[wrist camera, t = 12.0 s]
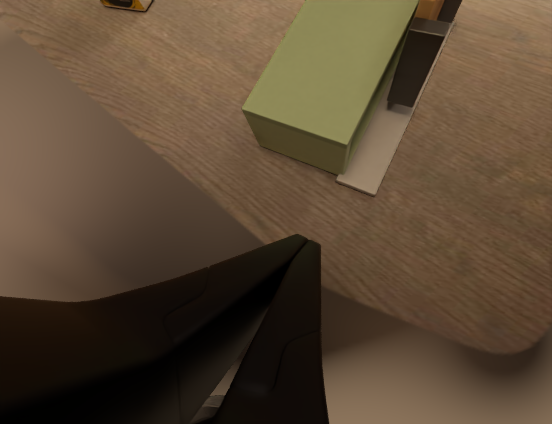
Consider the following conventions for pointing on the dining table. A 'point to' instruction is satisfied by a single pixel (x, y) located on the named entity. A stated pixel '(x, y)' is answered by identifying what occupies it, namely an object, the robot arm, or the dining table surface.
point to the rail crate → (339, 88)
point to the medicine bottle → (128, 4)
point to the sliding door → (418, 53)
